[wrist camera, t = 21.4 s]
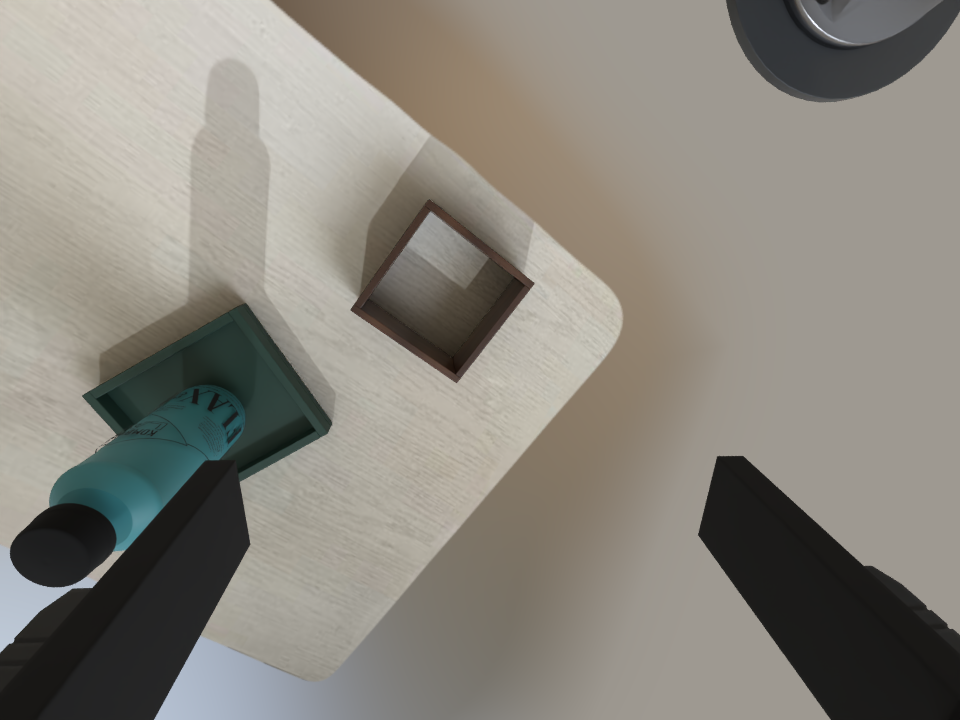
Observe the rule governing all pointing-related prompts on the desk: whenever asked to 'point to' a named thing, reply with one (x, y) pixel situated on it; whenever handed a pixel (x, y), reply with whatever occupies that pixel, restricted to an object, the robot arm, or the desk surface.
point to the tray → (234, 367)
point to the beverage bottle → (125, 485)
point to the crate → (417, 343)
